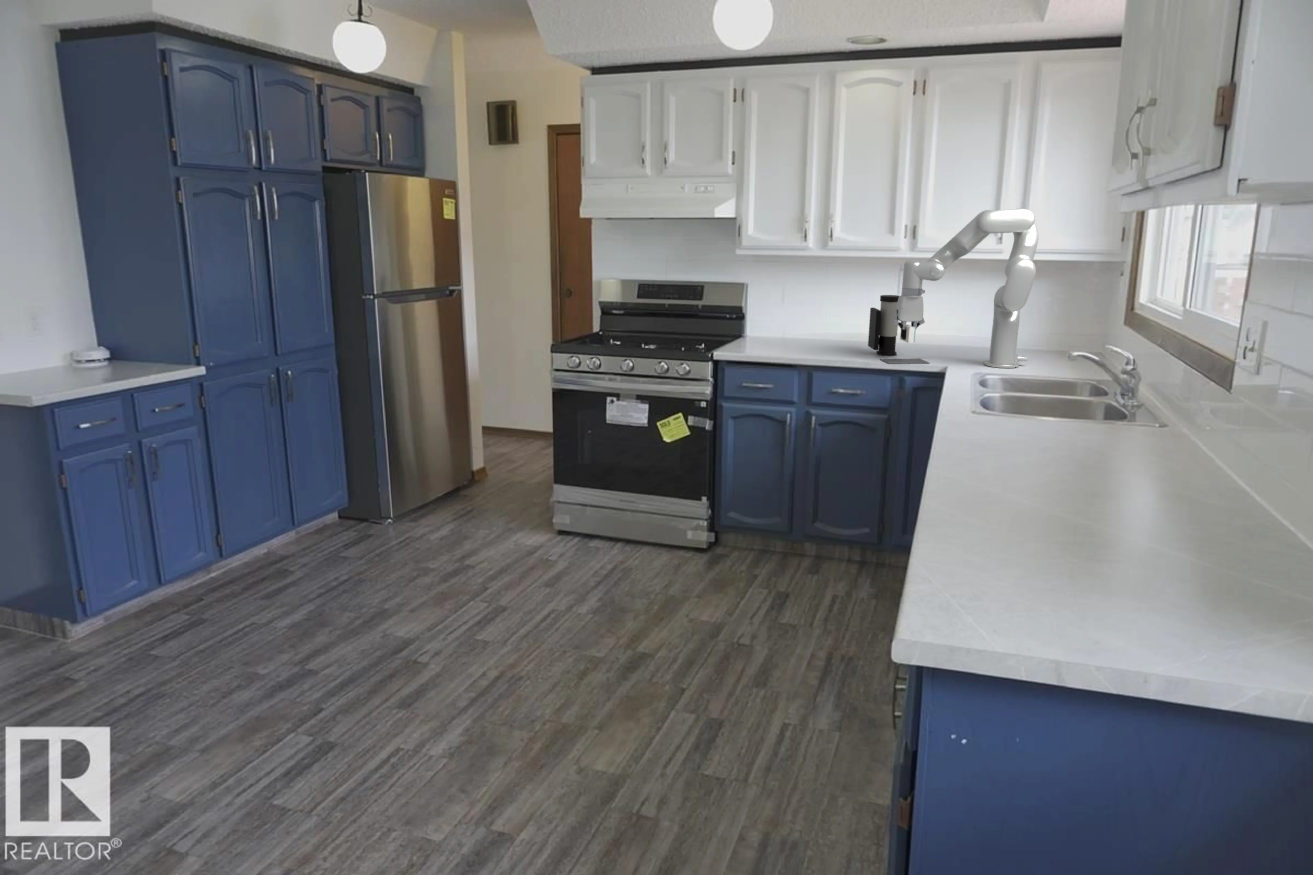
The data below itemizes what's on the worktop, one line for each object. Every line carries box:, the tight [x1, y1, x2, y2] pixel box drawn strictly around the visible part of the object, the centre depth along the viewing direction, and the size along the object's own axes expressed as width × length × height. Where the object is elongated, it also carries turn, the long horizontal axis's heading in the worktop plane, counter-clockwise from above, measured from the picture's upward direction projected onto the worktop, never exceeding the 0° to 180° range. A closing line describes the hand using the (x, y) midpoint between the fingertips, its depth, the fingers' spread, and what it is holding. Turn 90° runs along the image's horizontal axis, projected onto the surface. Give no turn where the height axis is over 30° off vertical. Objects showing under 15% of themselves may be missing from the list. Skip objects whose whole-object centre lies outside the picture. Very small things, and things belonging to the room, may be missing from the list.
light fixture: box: [867, 294, 900, 357], centre depth 368 cm, size 12×11×25 cm
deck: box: [899, 324, 917, 344], centre depth 348 cm, size 2×9×6 cm, turn 5°
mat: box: [879, 358, 930, 365], centre depth 353 cm, size 17×10×1 cm, turn 95°
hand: (907, 338), depth 348 cm, fingers closed on deck, 2 cm apart
